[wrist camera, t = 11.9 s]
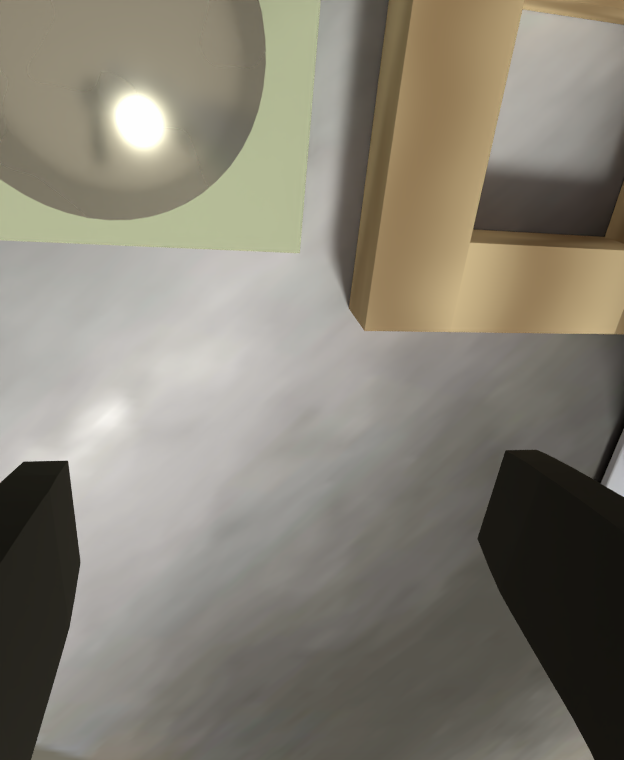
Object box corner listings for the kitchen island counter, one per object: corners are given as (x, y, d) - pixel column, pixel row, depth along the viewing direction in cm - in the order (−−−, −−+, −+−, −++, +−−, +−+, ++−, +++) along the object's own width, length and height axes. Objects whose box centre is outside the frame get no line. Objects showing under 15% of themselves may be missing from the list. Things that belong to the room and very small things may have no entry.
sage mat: (325, -117, 13) (330, -125, 13) (296, 248, 18) (299, 253, 17) (-90, -196, 12) (-103, -208, 11) (-13, 234, 16) (-20, 239, 15)
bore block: (796, -73, 16) (869, -92, 14) (643, 314, 21) (683, 335, 20) (409, -155, 13) (440, -191, 12) (348, 308, 19) (364, 330, 17)
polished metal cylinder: (230, -23, 13) (274, -150, 6) (227, 167, 15) (259, 227, 8) (37, -51, 12) (-154, -233, 6) (60, 155, 14) (-59, 212, 8)
